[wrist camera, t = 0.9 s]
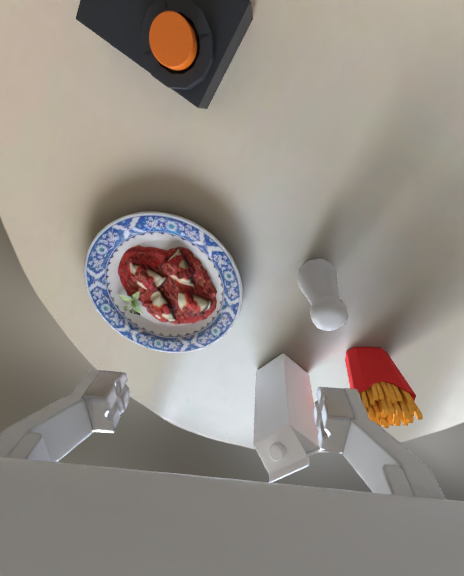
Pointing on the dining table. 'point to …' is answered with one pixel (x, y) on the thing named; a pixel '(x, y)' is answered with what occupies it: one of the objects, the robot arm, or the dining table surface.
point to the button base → (202, 18)
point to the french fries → (381, 386)
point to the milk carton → (284, 418)
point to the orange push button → (173, 40)
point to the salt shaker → (322, 294)
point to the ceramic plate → (163, 282)
